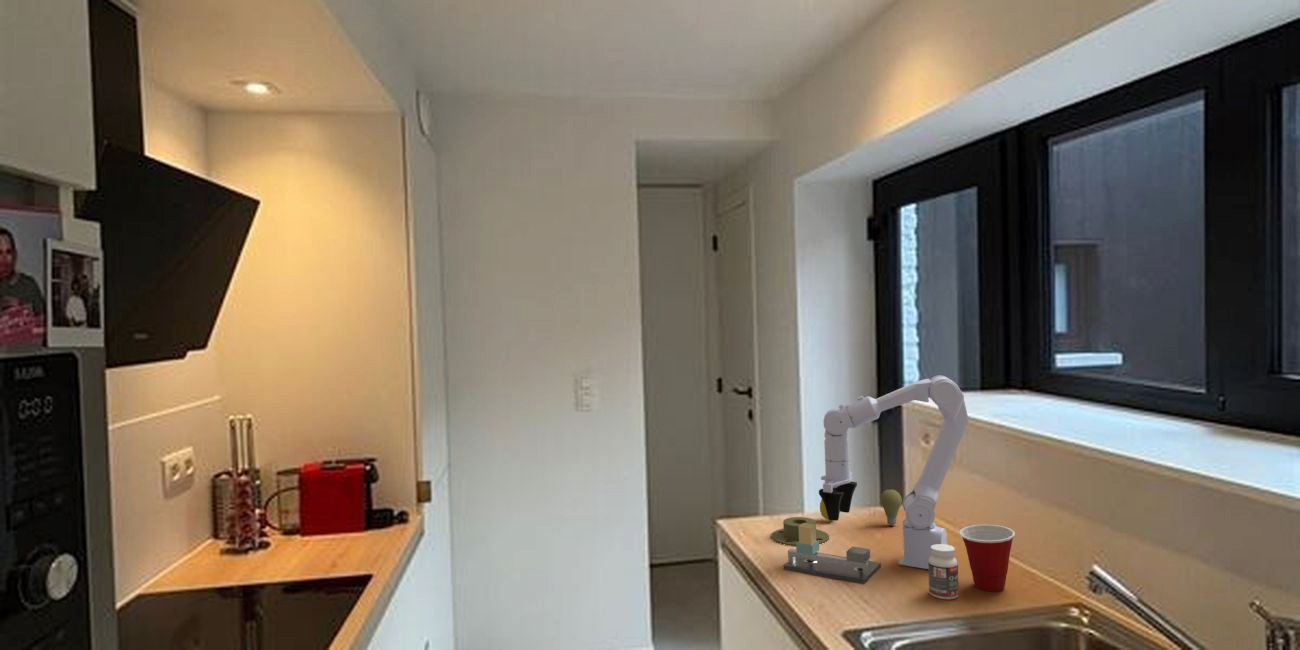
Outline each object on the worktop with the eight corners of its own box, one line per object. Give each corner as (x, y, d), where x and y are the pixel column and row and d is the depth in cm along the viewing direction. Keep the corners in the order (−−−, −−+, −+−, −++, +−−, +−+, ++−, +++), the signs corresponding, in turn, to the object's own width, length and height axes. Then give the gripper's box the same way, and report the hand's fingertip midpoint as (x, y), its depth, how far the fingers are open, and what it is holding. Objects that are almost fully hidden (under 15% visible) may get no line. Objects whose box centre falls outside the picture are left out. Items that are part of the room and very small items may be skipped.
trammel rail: (872, 571, 163) (872, 549, 163) (867, 576, 159) (866, 554, 159) (793, 557, 173) (792, 537, 173) (786, 562, 170) (786, 541, 170)
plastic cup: (951, 579, 159) (949, 524, 159) (998, 575, 160) (997, 521, 159) (977, 598, 148) (975, 539, 148) (1027, 594, 149) (1026, 536, 149)
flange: (760, 523, 191) (811, 533, 181) (788, 510, 202) (838, 519, 192) (760, 541, 191) (811, 552, 181) (789, 527, 202) (839, 536, 192)
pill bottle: (956, 602, 146) (954, 553, 146) (926, 597, 149) (925, 549, 149) (961, 592, 151) (959, 545, 151) (932, 587, 154) (930, 541, 154)
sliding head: (819, 560, 170) (818, 524, 170) (813, 566, 166) (811, 528, 166) (803, 558, 172) (802, 522, 172) (796, 563, 169) (795, 526, 169)
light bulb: (882, 528, 197) (881, 492, 196) (879, 522, 202) (878, 487, 202) (904, 528, 196) (903, 492, 195) (900, 522, 201) (899, 487, 201)
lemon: (841, 524, 201) (840, 496, 201) (820, 524, 202) (819, 496, 202) (839, 519, 207) (838, 491, 207) (820, 518, 208) (819, 491, 208)
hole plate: (881, 567, 168) (880, 562, 168) (864, 584, 158) (864, 578, 158) (803, 554, 178) (803, 549, 178) (783, 569, 169) (783, 564, 169)
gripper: (831, 452, 182) (833, 506, 182) (809, 463, 170) (811, 521, 170) (859, 455, 178) (861, 510, 178) (839, 466, 166) (841, 525, 166)
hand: (839, 515), depth 174 cm, fingers open, 7 cm apart
